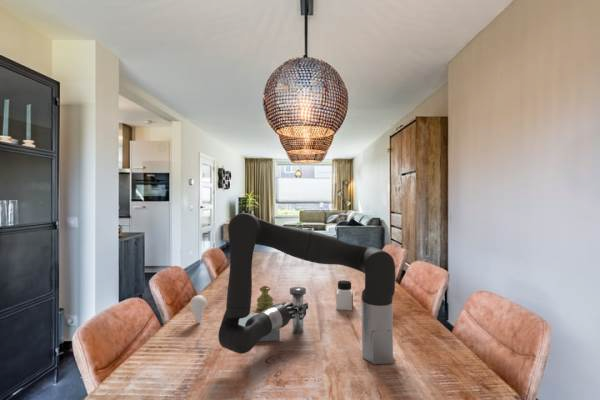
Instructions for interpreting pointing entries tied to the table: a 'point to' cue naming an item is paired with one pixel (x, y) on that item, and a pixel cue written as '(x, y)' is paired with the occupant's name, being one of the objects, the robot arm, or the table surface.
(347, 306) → the medicine bottle
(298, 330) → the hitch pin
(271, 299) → the brass weight
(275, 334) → the socket board
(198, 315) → the lightbulb
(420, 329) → the table surface
